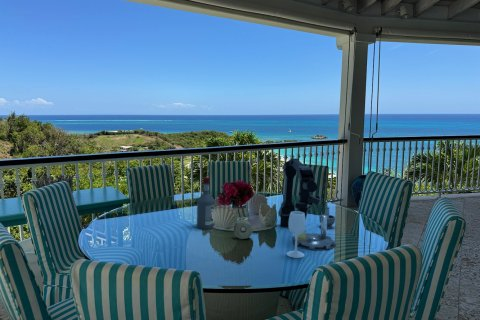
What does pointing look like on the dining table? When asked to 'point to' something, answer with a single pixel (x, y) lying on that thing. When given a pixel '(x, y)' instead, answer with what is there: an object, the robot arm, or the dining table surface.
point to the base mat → (314, 249)
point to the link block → (302, 236)
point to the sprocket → (317, 238)
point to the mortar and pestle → (328, 218)
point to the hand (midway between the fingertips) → (304, 219)
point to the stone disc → (243, 234)
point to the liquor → (205, 207)
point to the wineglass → (296, 230)
